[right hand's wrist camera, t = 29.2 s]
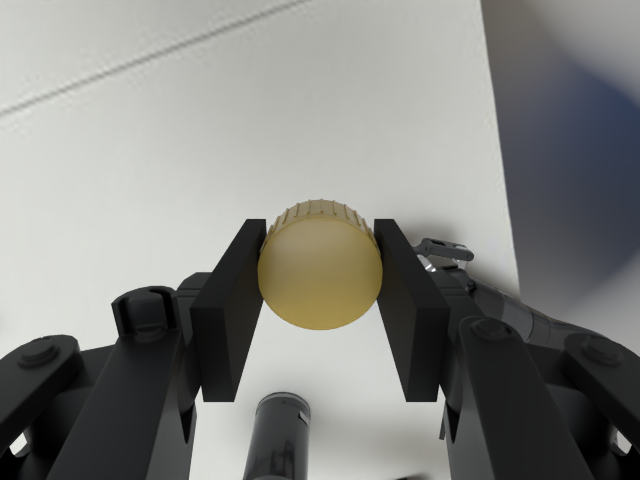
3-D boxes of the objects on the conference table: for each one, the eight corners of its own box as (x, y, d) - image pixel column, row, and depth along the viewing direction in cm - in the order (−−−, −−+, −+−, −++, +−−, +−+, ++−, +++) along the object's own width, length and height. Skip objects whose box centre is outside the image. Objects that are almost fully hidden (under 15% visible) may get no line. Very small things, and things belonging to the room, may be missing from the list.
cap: (398, 242, 14) (412, 266, 12) (329, 317, 15) (330, 351, 13) (309, 174, 13) (307, 187, 11) (243, 261, 14) (230, 287, 12)
